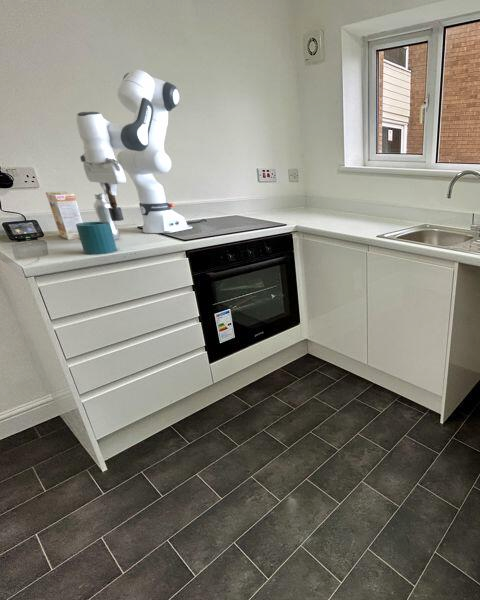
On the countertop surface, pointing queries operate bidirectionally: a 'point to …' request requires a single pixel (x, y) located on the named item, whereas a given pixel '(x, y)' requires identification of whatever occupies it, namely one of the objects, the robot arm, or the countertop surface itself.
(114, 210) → the brush
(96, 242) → the teal pot
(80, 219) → the coffeecake box
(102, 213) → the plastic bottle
